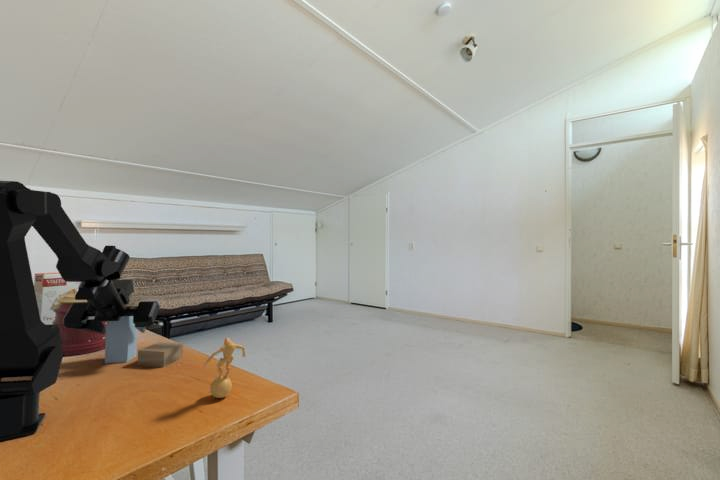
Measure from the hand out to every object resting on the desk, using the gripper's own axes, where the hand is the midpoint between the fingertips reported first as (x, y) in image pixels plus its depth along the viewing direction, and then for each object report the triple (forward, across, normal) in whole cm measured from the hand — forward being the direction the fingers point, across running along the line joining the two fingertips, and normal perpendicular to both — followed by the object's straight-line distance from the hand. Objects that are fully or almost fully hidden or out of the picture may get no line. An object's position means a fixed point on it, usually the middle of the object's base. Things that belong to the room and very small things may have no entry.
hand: (124, 331), depth 84 cm
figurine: (-16, -30, +26) cm, 42 cm away
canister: (+12, +15, -2) cm, 19 cm away
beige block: (+2, -10, +8) cm, 14 cm away
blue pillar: (+4, 0, +6) cm, 7 cm away
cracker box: (+20, +26, -10) cm, 35 cm away
